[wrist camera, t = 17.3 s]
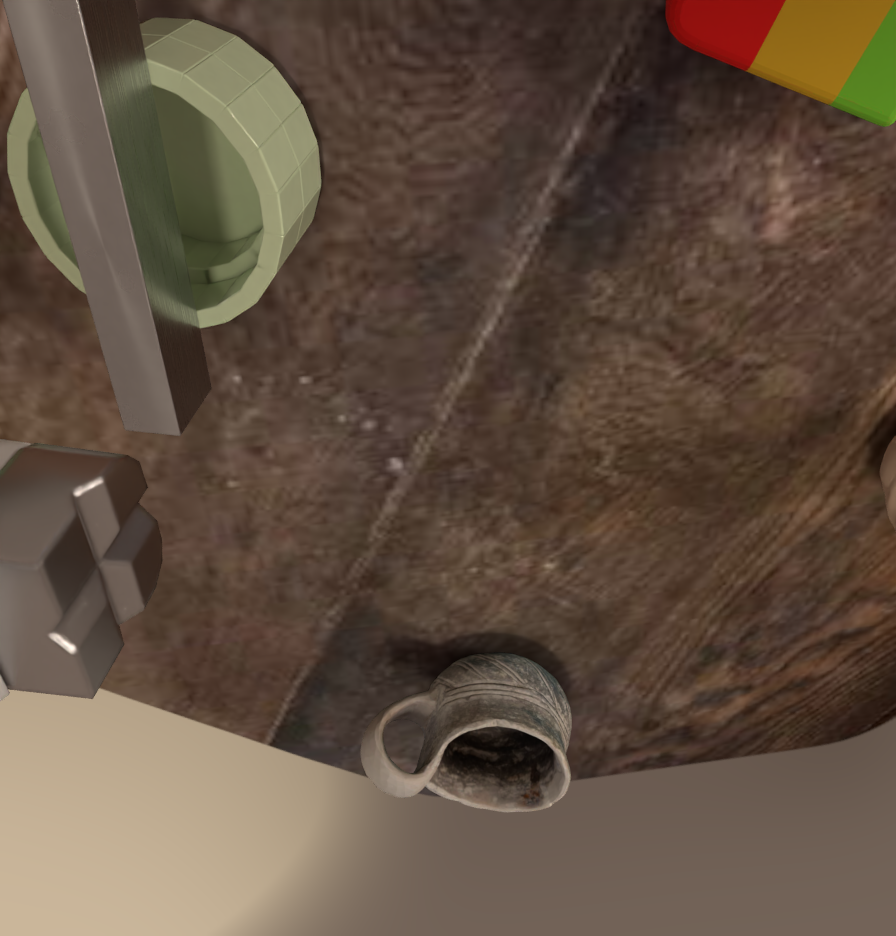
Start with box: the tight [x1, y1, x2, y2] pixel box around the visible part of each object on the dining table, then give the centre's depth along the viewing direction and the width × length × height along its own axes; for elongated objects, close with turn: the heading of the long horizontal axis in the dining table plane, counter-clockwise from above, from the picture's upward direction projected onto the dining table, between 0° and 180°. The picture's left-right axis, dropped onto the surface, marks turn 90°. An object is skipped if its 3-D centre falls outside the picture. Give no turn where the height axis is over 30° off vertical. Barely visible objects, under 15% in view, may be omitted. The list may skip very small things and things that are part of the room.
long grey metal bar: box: [2, 0, 211, 436], centre depth 31 cm, size 16×2×4 cm, turn 179°
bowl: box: [7, 18, 321, 328], centre depth 35 cm, size 11×11×6 cm
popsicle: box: [665, 0, 896, 127], centre depth 29 cm, size 6×15×2 cm, turn 72°
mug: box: [361, 652, 572, 812], centre depth 52 cm, size 10×12×10 cm
